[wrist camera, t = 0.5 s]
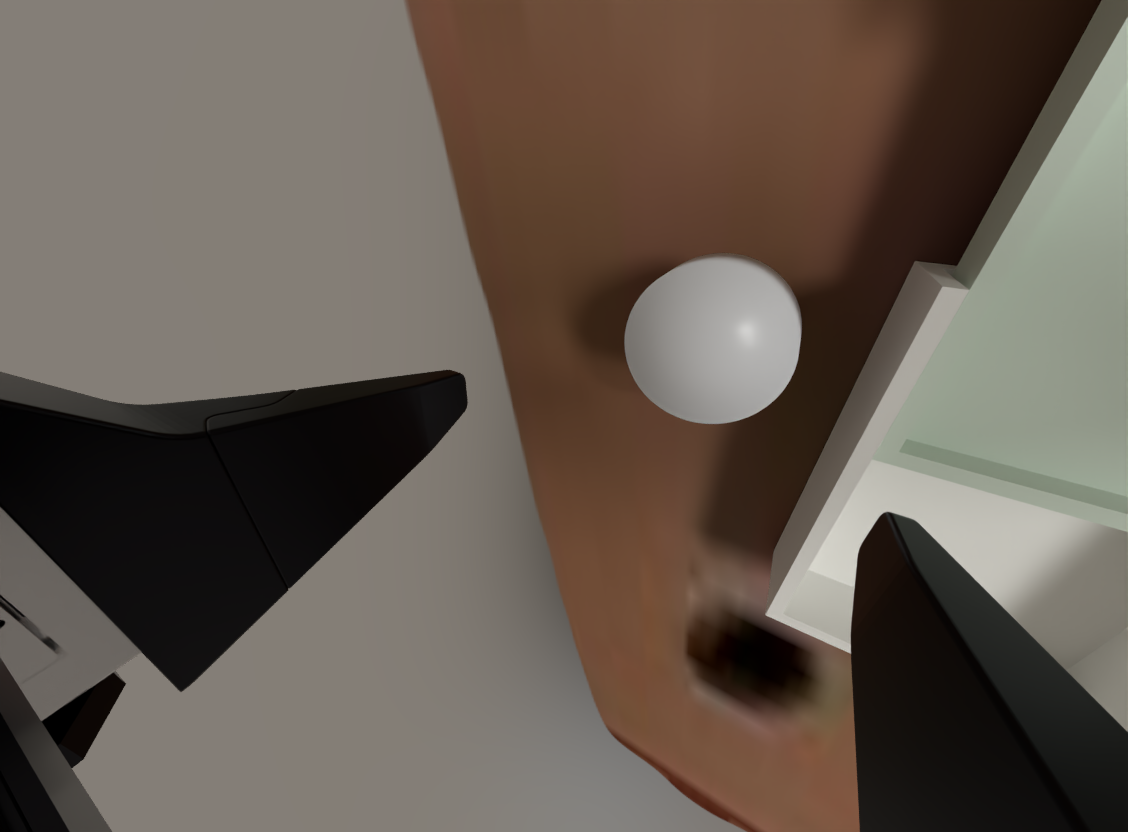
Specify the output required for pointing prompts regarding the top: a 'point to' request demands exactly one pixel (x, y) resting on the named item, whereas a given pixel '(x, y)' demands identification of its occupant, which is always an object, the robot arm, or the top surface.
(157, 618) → the robot arm
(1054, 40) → the top surface
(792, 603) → the shallow white bin
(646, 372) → the dome
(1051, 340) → the drawer
